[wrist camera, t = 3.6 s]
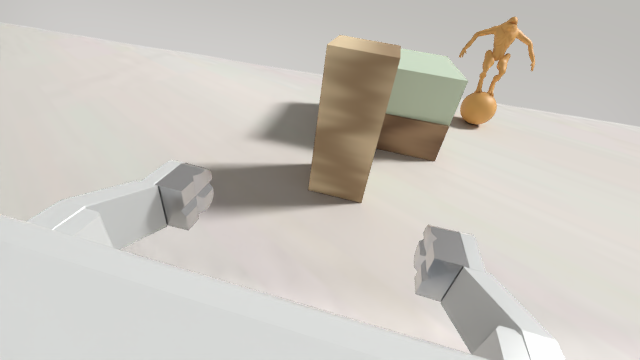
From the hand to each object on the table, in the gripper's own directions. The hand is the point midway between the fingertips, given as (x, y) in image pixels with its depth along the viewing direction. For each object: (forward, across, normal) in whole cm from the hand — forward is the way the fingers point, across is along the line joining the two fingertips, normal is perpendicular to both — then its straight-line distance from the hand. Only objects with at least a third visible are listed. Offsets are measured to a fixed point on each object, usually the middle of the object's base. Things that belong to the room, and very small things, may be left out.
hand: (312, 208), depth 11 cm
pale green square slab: (+23, -3, +2) cm, 23 cm away
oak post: (+11, 0, +6) cm, 12 cm away
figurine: (+32, -14, +6) cm, 35 cm away
